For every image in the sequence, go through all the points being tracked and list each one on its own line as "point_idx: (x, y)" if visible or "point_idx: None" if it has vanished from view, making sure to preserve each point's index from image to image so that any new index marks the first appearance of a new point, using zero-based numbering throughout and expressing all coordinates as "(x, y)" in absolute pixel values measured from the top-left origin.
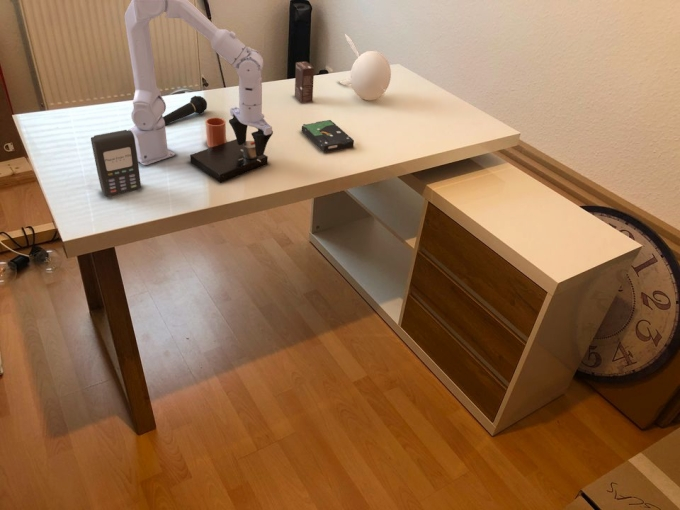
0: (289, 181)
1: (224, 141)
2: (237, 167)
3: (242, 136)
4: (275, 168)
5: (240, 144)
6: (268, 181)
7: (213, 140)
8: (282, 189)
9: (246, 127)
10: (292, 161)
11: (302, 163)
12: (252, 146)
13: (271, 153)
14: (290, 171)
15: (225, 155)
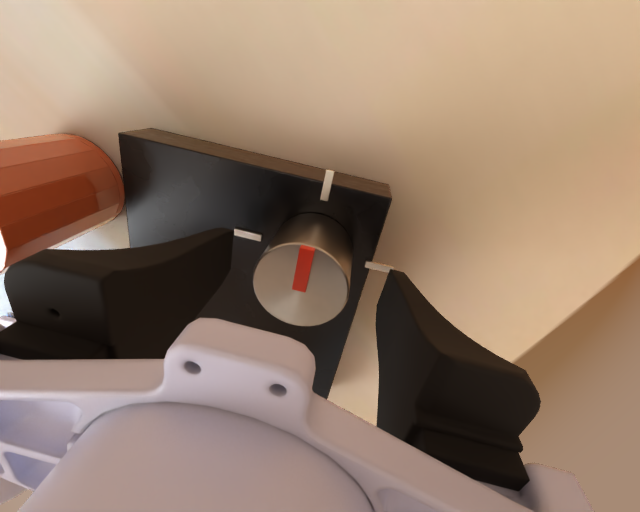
0: (569, 251)
1: (99, 182)
2: (337, 357)
3: (207, 273)
4: (445, 190)
5: (229, 264)
6: (472, 301)
7: (79, 236)
8: (560, 319)
9: (172, 268)
10: (503, 42)
11: (585, 12)
12: (329, 304)
13: (332, 52)
14: (538, 164)
15: (228, 311)
